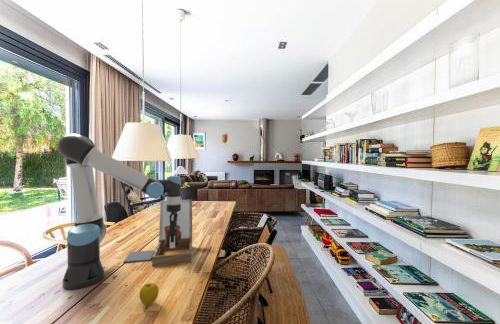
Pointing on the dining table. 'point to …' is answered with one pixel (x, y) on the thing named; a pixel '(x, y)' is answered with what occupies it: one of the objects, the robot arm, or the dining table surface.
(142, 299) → the apple
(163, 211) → the lid
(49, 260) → the dining table surface
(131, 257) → the slate mat
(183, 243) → the shallow wooden tray
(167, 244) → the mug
